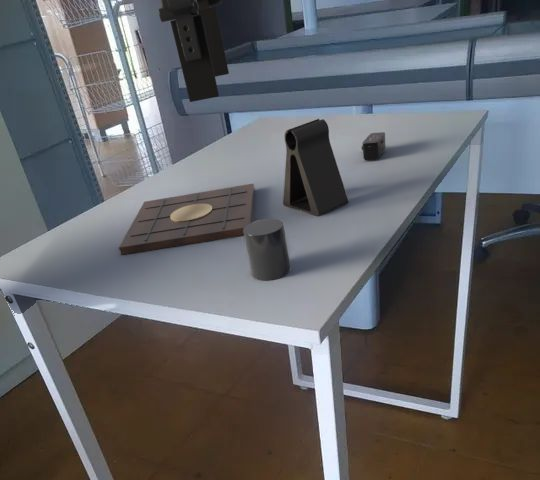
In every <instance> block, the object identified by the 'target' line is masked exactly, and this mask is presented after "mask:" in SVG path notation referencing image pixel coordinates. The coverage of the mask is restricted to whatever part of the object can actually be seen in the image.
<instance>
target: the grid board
mask: <svg viewBox="0 0 540 480" xmlns="http://www.w3.org/2000/svg"><path fill="white" fill-rule="evenodd" d="M255 192H256V190H255V184H254V183H247V184H241V185H236V186H230V187H229V186H228V187H223V188H219V189H218V188H217V189H211V190H206V191H200V192H195V193H188V194H183V195H176V196H169V197H164V198H158V199H152V200H146V201H144V202H143V203H142V205H141V207H140V209H139V210H138V212H137V214H136V216H135V217H134V219H133V221H132V223H131V225H130V227H129V228H128V230H127V232H126V234H125V236H124V238H123V239H122V241H121V243H120V245H119V246H118V249H119V252H120V255H129V254H135V253H136V254H137V253H141V252H147V251H155V250H160V249H167V248H172V247H173V248H174V247H178V246H179V247H180V246H186V245H191V244H197V243H205V242H211V241H217V240H225V239H230V238H237V237H242V236H243V237H244V233H243V229H244V227H245V226H247V225H248V224H250V223H252V222H253V216H254V203H255Z"/></svg>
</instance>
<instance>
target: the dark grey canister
mask: <svg viewBox="0 0 540 480" xmlns="http://www.w3.org/2000/svg"><path fill="white" fill-rule="evenodd" d="M243 233H244V235H243V237H244V243H245V247H246V248H245V249H246V252H247V256H248V262H249V267H250V272H251V276H252V277H253V278H254V279H255V280H259V281H271V280H272V281H274V280H277V279H281V278H283V277H285V276H287V274H289V273H290V271H291V261H290V254H289V247H288V242H287V236H286V230H285V223H284V222H283V220H281V219H278V218H263V219H257V220H255V221H252V223H250V224H248V225H247V226H245V227H244V229H243Z"/></svg>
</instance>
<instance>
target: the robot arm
mask: <svg viewBox="0 0 540 480" xmlns="http://www.w3.org/2000/svg"><path fill="white" fill-rule="evenodd" d="M218 5H222V0H160V6H161V7H160V8H157V12H158V16H159V19H160V22H161V23H165V22H169V21H170V26H171V31H172V34H173V39H174V42H175V48H176V51H177V54H178V55H177V56H178V59H179V63H180V67H181V71H182V75H183V79H184V83H185V84H184V85H185V88H186V91H187V96H188V99H189V103H192V102H193V103H194V102H197V101H203V100H208V99H213V98H219V96H220V93H219V89H218V85H217V84H218V83H217V80H216V77H220V76H226V75H229V74H230V71H229V66H228V61H227V56H226V52H225V47H224V41H223V36H222V31H221V25H220V21H219V16H218V10H217V7H216V6H218Z"/></svg>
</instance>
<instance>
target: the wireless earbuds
mask: <svg viewBox="0 0 540 480" xmlns="http://www.w3.org/2000/svg"><path fill="white" fill-rule="evenodd" d="M360 147H361V151H362V157H363V160H364V161H368V162H369V161H370V162H371V161H377V160H378V159H379V158H380V157H381V156H382V155H383V153H384V152H385V151H386V132H384V131H383V132H381V131H379V132H372V133H370V134H368V135H367V137H366V138H365V139H364V140H363V141H362V145H361V146H360Z"/></svg>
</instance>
